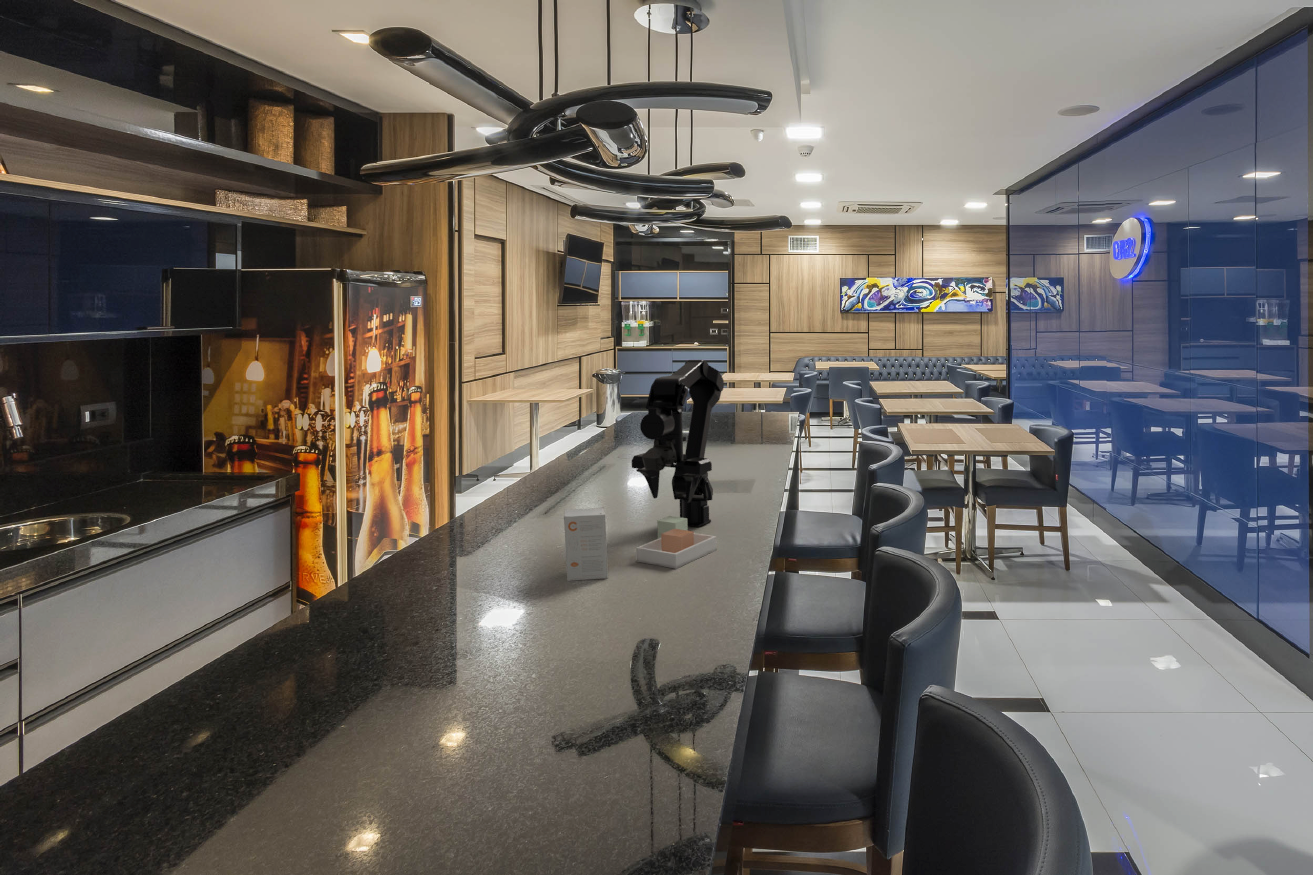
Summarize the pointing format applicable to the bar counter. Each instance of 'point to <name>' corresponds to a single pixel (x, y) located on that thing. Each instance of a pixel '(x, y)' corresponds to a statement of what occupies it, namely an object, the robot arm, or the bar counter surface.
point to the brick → (676, 540)
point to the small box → (585, 544)
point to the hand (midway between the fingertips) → (671, 500)
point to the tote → (656, 556)
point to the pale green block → (671, 524)
